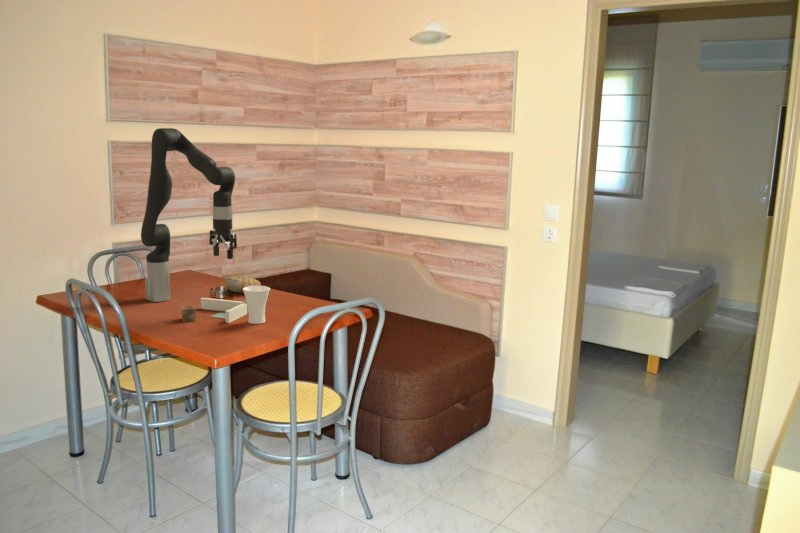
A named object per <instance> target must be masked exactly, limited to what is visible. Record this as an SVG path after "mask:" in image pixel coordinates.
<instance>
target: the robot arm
mask: <svg viewBox="0 0 800 533" xmlns="http://www.w3.org/2000/svg"><path fill="white" fill-rule="evenodd" d="M173 151H174V152H175V151H176V152H178V153H180V154H183V155H184V156H185V157H186V158H187V161H188V163H189V164H190V165H191V166H192V168H194V169H195V170H197V171H198V172H200V173H201V174H202V175H203V176H204V177H205V178H206V180H207V181H208V182H209V183H211V184H212V185H214V186H219V189H218V190H216V191H214V192H213V195H212V200H213V201H212V203H213V204H212V205H213V206H212V230H209V242H208V243H209V245H211V246H212V248H213V250H212V251H213V256H214V257H218V256H220V244H221V243H222V244H223V245H224V246H225V247H226V249H227V250H226V258H227V260H232V259H233V258H234V250H235V249H237V248H238V247H237V246H238V242H237V240H238V239H237V233H231V231H232V229H233V209H232V195H233V192H234V186H235V183H236V174H235V171H234V170H233V169H232V167H229V166H217V162H216V161H215V160H214V159H213V158H212V157H210V156H209V155H207V153H205V152H203V151H201V150H200V149H199V148H198V147H197V146H195V145H194V143H193V142H191V141H190V140H189V139H188V138H187V137H186V136H185V135H184V134H183V133H182V132H181V131H180V130H179V129H177V128H174V127H173V128H172V127H169V128H168V127H167V128H166V127H165V128H164V127H163V128H162V127H161V128H157V129H155V130H154V131H153V134H152V136H151V159H150V160H151V162H150V164H151V165H150V174H149V180H148V187H147V188H148V189H147V197H146V206H145V212H144V213H145V214H144V217H143V220H142V225H141V230H140V240H141V242H142V244H143V246H145V247H155V248H154V249H153V250H152V251H151V252H149V253H147V254H146V257H145V260H146V261H145V262H146V278H145V279H144V283H145V284H144V286H145V300H146V301H149V302H154V303H156V302H157V303H158V302H159V303H160V302H166V301H169V300H171V281H170V255H171V233H170V232H171V231H170V228H169V226H168V225H167V224H165V223H158V219H159V217H160V214H161V213H162V211H164V209H165V207H166V206H167V205H168V203H169V202H170V199H171V197H172V191H173V190H172V189H173V179H172V177H171V174H170V172H169V169H168V167H167V153H168V152H173Z"/></svg>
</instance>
